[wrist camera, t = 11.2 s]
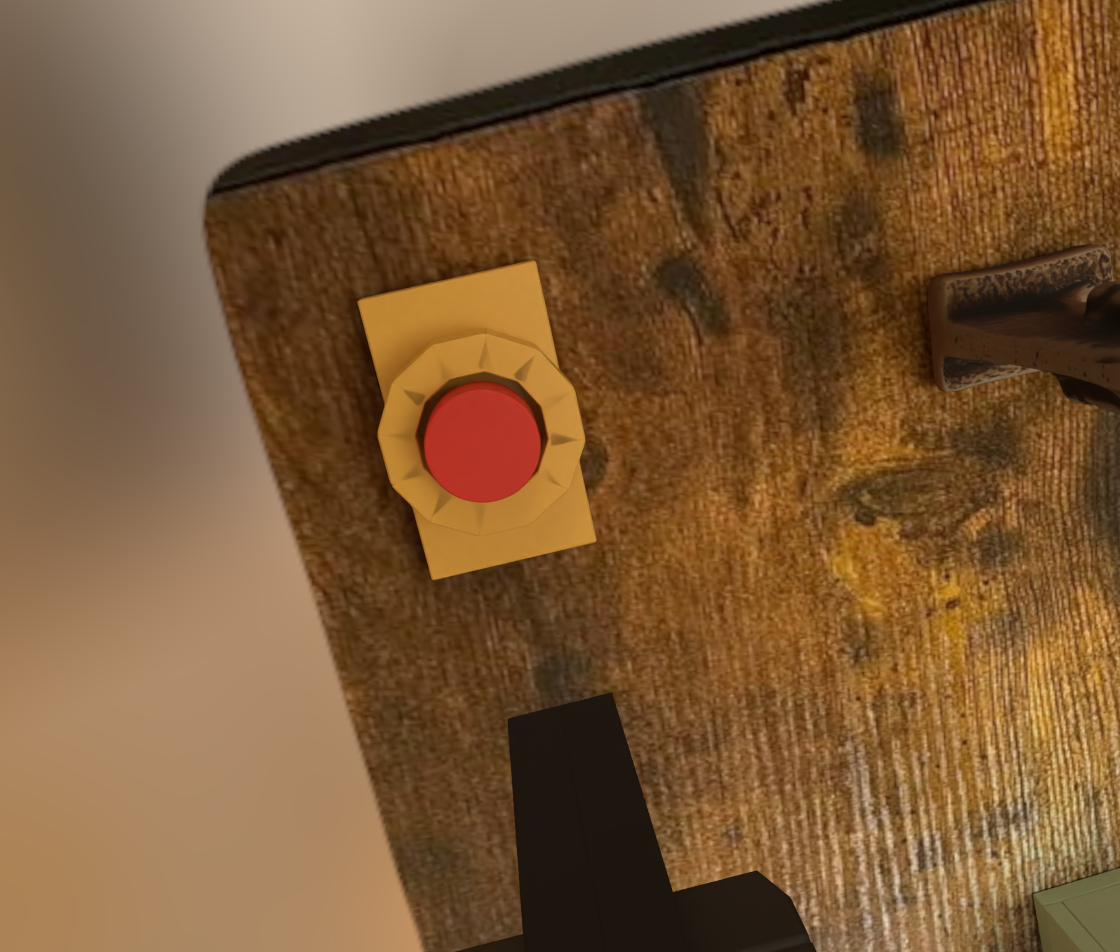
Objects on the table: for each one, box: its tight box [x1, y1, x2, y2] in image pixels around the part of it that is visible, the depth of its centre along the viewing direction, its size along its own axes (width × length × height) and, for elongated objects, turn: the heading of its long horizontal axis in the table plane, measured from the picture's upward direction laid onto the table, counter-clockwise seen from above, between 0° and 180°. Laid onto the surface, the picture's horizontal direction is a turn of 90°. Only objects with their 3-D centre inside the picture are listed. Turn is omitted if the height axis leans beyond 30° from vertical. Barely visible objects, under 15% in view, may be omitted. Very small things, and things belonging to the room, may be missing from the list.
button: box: [424, 381, 541, 503], centre depth 30 cm, size 4×4×2 cm
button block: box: [358, 260, 596, 580], centre depth 32 cm, size 10×6×3 cm, turn 12°
